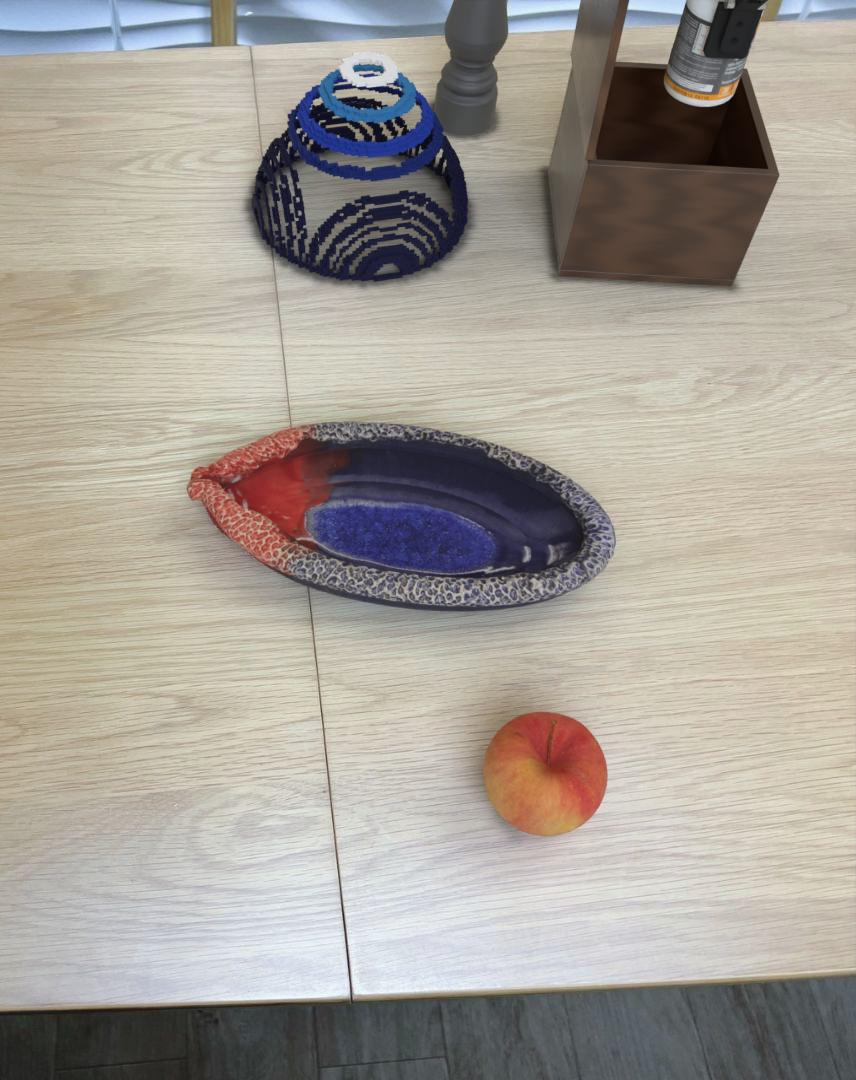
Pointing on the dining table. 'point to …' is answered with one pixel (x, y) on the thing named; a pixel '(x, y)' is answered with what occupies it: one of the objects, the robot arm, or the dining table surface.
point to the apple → (545, 773)
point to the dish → (407, 516)
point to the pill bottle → (700, 60)
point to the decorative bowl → (363, 173)
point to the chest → (660, 183)
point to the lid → (595, 62)
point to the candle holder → (471, 65)
